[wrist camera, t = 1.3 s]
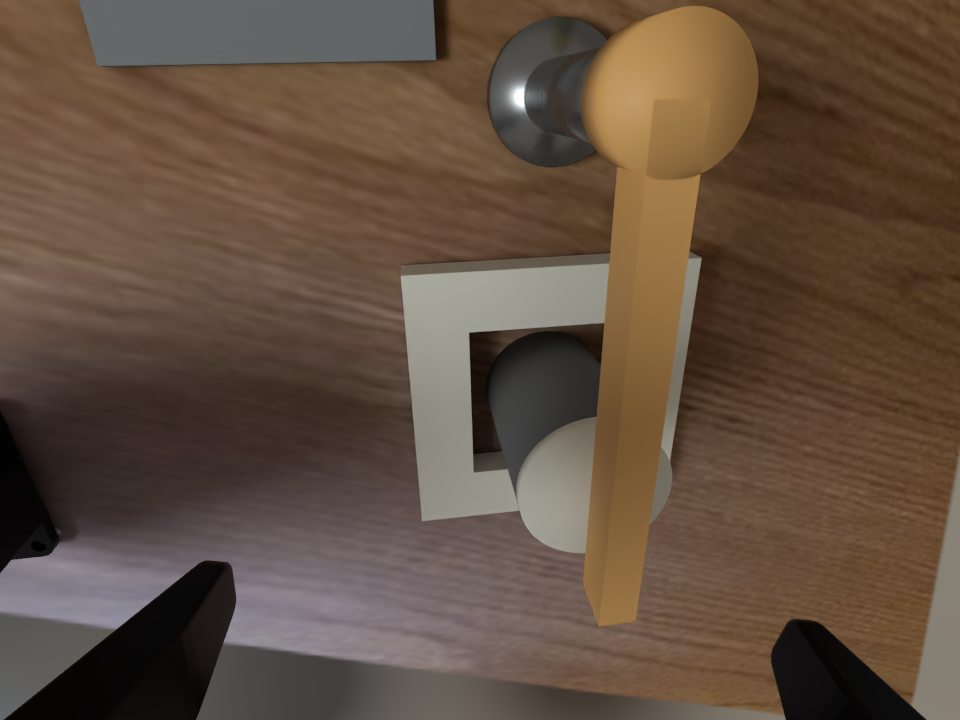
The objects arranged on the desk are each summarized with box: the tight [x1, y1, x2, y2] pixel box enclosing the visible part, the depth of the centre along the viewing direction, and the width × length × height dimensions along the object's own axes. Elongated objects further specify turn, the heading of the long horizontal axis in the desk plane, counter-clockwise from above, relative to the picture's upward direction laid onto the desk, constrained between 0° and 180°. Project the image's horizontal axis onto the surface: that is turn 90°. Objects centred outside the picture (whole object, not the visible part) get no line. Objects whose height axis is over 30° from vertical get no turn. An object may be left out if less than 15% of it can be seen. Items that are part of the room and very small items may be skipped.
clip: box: [581, 6, 758, 626], centre depth 12 cm, size 3×14×1 cm, turn 2°
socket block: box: [401, 251, 702, 521], centre depth 21 cm, size 10×10×1 cm
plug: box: [486, 331, 672, 553], centre depth 18 cm, size 4×4×6 cm
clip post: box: [487, 17, 607, 167], centre depth 14 cm, size 4×4×7 cm
